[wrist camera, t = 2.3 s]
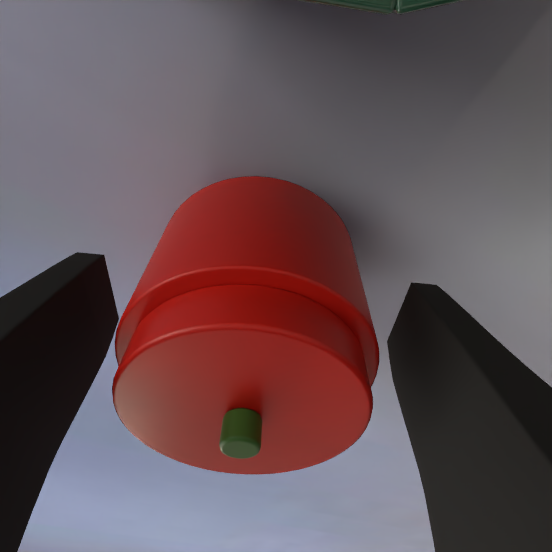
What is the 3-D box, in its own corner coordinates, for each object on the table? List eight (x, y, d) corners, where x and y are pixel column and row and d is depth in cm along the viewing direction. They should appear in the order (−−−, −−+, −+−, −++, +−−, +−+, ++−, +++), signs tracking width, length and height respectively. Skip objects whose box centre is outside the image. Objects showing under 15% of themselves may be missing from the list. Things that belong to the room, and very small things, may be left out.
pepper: (232, 332, 13) (202, 528, 8) (131, 216, 10) (0, 411, 6) (374, 278, 11) (437, 482, 7) (299, 124, 9) (317, 286, 4)
